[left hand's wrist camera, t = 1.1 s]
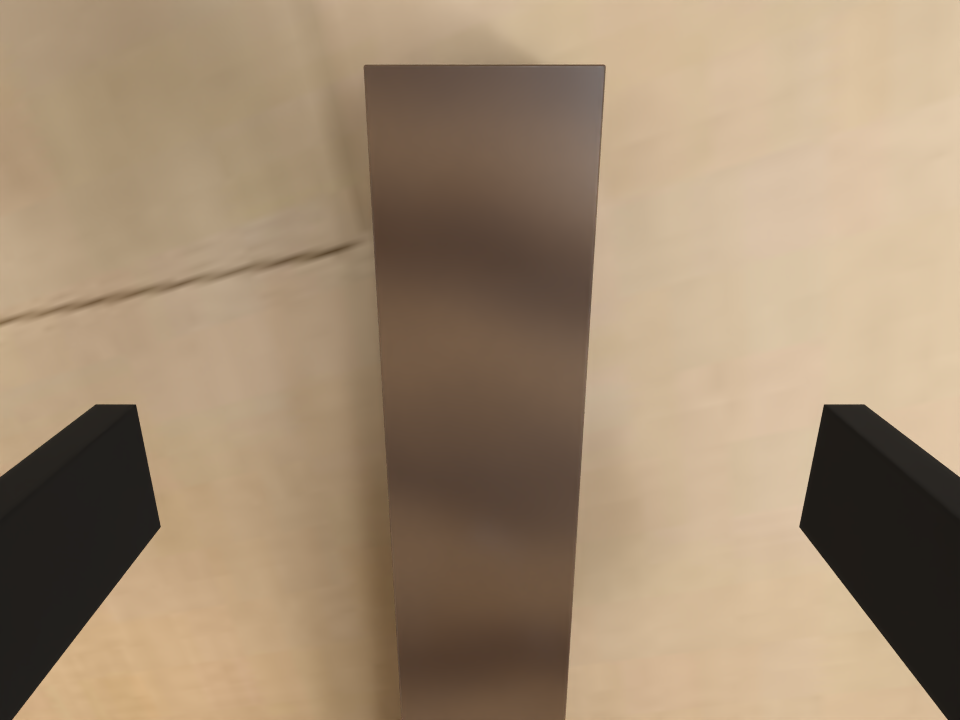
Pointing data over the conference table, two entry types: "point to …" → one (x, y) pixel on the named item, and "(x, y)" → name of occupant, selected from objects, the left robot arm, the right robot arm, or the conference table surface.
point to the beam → (484, 371)
